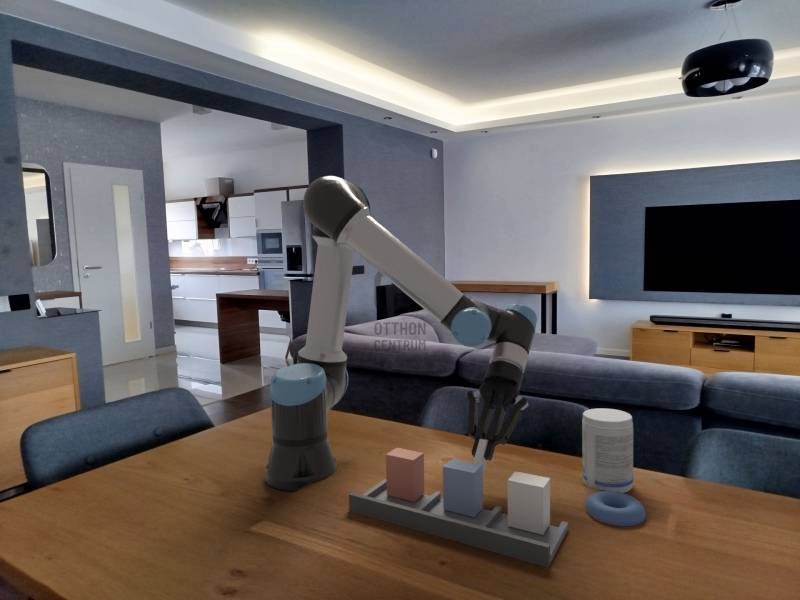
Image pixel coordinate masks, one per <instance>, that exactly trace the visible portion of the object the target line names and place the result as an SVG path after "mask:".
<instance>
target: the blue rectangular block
mask: <svg viewBox="0 0 800 600" xmlns="http://www.w3.org/2000/svg"><path fill="white" fill-rule="evenodd" d="M442 493H443V494H442V499H443V510H447V511H451V512H455V513H459V514H463V515H467V516H471V517H475V516H476V515H477V514H478V513H479V512H480V511H481V510H482V509H484V472H483V465H481V464H476V463H473V462H470V461H467V460H466V461H465V460H461V459H456V458H452V459H450V460H448V462H447V463H445V464H444V465H443V466H442Z"/></svg>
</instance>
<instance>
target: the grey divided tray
mask: <svg viewBox="0 0 800 600" xmlns="http://www.w3.org/2000/svg"><path fill="white" fill-rule="evenodd" d="M441 494H442V492H441V491H435V492H433V493H432V494H431V495H429V494H425V493H424V494H423V495H422V496H421V497H420V498H418V499H417V500H416V501H415V502H412V501H408V500H404V499H400V498H396V497H392V496H388V495H387V484H386V478H385V479H382V480H381V481H380V482H378V483H376V484H375V485H374V486H373V487H371V488H369V489H368V490H367V491H365V492H364V493H362V494H361V493H357V492H350V493H349V494H348V511H349V512H353V513H356V514H360V515H364V516H367V517H370V518H374V519H378V520H381V521H385V522H388V523H392V524H396V525H398V526H402V527H406V528H409V529H413V530H416V531H420V532H423V533H427V534H430V535H432V536H433V535H434V536H437V537H441V538H444V539H447V540H452V541H454V542H459V543H461V544H465V545H469V546H473V547H476V548H479V549H483V550H487V551H490V552H493V553H497V554H501V555H504V556H508V557H511V558H514V559H518V560H522V561H525V562H529V563H532V564H536V565H540V566H543V567H546V568H549V567H550V565H551V563H552V561H553V559H554V558H555V555H556V553H557V552H558V549H559V548H560V546H561V544H562V542H563V540H564V538H565V536H566V534H567V533H568V531H569V522H566V521H561V523H560V524H559V526H555V525H551V524H550V525H549V526H548V528H547V530H546V531H545V533H544V535H541V534H537V533H533V532H529V531H525V530H522V529H518V528H514V527H510V526H508V514H506V513H503V511H502V510H503V507H502V506H499V505H496V506H494V508H492V510H490V509H487V508H483V509H482V510H481V511H480V512H479V513H478V514H477V515H476V516H475V517H471V516H467V515H463V514H459V513H455V512H451V511H447V510H443V498H442V497H441V496H442V495H441Z"/></svg>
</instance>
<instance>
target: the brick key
mask: <svg viewBox="0 0 800 600" xmlns="http://www.w3.org/2000/svg"><path fill="white" fill-rule="evenodd" d="M424 456H425V453H424V452H421V451H420V452H419V451H414V450H410V449H405V448H401V447H395V448H394V449H392V450H390V451H389V452H388V453H386V454H385V476H386V478H385V479H386V484H387V495H388V496H392V497H396V498H400V499H404V500H408V501H412V502H415V501H416V500H417V499H418V498H420V497H421V496H422V495H423V494H424V495H425V457H424Z"/></svg>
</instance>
